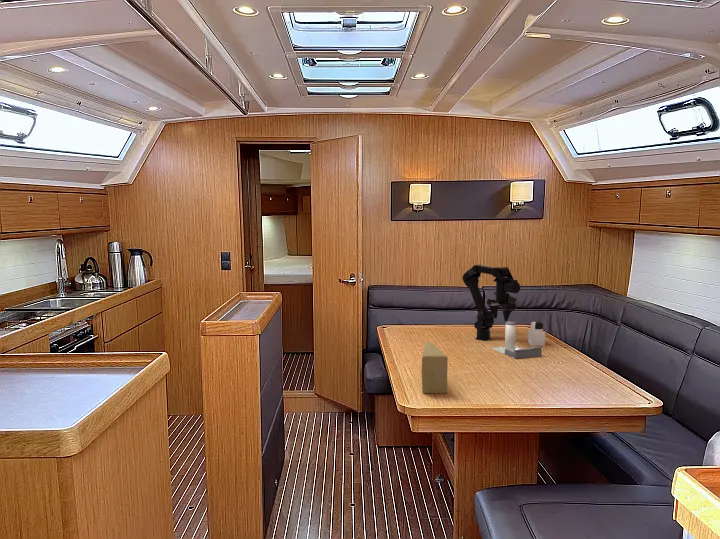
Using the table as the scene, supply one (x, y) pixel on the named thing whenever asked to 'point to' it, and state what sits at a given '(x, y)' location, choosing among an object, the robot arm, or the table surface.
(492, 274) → the robot arm
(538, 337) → the medicine bottle
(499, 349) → the sage mat
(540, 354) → the dispenser rack
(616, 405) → the table surface
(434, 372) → the cheese
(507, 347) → the grey capped tube
